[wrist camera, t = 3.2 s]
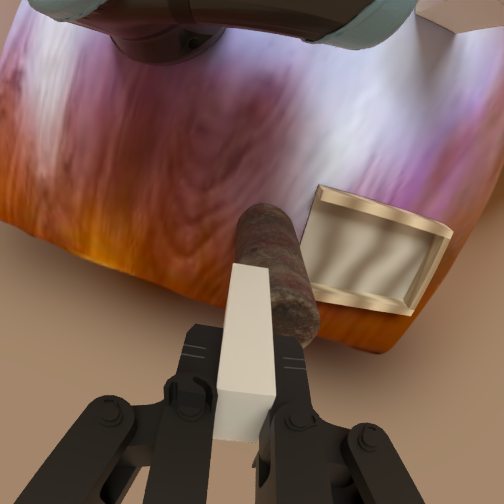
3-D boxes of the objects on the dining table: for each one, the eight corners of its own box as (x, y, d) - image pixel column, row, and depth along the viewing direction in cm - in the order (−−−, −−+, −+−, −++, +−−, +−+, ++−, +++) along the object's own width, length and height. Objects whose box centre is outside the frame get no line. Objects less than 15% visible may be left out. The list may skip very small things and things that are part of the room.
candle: (303, 215, 40) (338, 311, 22) (281, 261, 43) (295, 372, 25) (249, 194, 39) (242, 280, 21) (229, 242, 42) (210, 349, 24)
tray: (286, 283, 45) (288, 295, 42) (318, 184, 38) (323, 190, 35) (404, 304, 47) (410, 315, 44) (443, 223, 40) (453, 231, 37)
